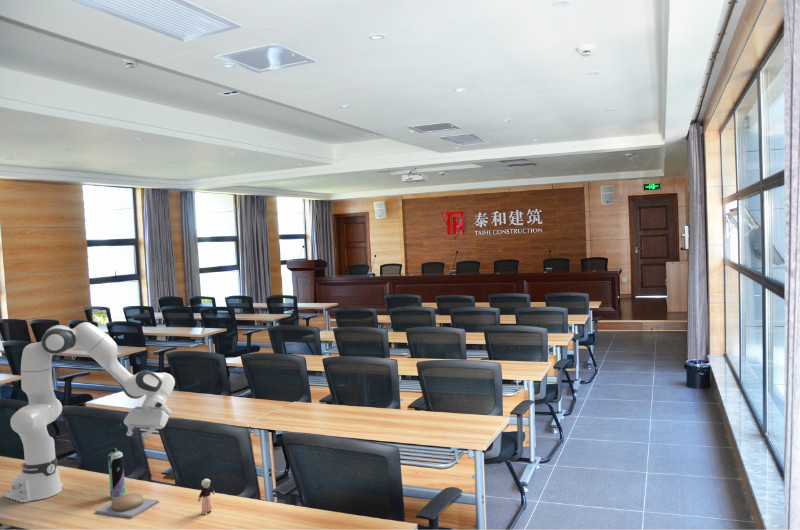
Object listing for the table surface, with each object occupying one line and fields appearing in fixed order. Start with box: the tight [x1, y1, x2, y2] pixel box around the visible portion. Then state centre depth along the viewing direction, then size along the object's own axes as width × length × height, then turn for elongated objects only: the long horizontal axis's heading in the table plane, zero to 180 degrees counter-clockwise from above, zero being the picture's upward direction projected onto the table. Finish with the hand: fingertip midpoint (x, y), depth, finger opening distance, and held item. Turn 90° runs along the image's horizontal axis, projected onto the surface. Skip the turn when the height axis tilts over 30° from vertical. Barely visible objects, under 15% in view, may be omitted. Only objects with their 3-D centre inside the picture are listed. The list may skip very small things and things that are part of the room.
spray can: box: [107, 447, 126, 500], centre depth 246 cm, size 6×6×20 cm
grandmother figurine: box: [197, 478, 216, 515], centre depth 227 cm, size 8×4×13 cm, turn 160°
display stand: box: [95, 492, 160, 519], centre depth 235 cm, size 18×14×4 cm
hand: (137, 436), depth 257 cm, fingers open, 8 cm apart
